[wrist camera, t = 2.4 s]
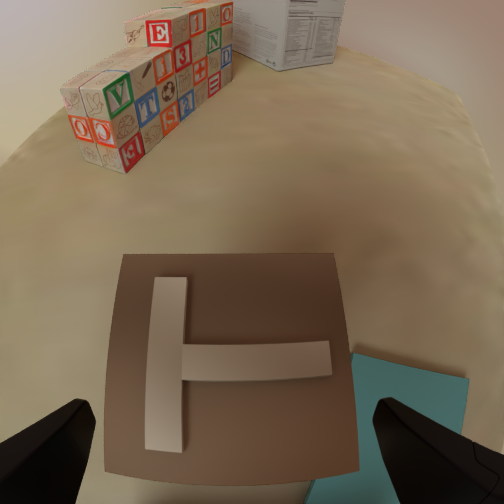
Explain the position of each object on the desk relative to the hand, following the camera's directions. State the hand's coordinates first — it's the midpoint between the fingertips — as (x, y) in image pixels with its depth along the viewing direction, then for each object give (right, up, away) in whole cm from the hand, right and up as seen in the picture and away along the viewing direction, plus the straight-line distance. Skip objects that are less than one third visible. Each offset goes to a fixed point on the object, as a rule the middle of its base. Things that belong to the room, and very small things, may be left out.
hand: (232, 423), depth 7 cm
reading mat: (+10, -7, +7) cm, 14 cm away
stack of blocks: (-9, +21, +23) cm, 33 cm away
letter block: (0, -4, +8) cm, 9 cm away
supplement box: (+6, +39, +35) cm, 53 cm away
